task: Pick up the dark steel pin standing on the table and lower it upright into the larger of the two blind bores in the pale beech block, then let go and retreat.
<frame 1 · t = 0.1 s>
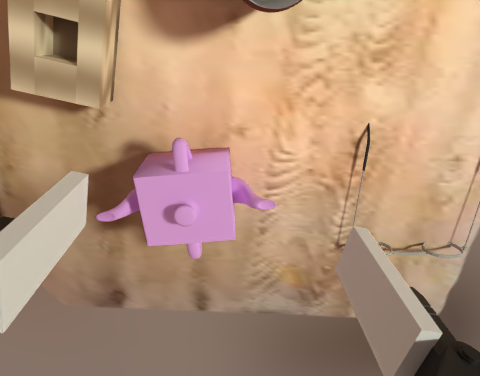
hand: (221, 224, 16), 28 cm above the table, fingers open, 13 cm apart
teapot: (194, 177, 46), on the table
eyeglasses: (414, 187, 48), on the table
block: (77, 10, 37), on the table
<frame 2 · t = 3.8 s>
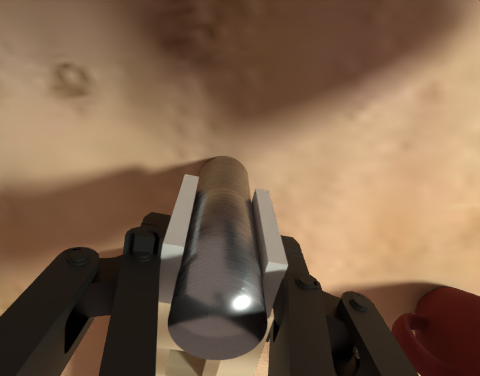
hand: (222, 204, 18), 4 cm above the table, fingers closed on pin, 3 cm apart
block: (185, 343, 28), on the table
pin: (223, 179, 22), on the table, touching gripper
mug: (424, 302, 27), on the table
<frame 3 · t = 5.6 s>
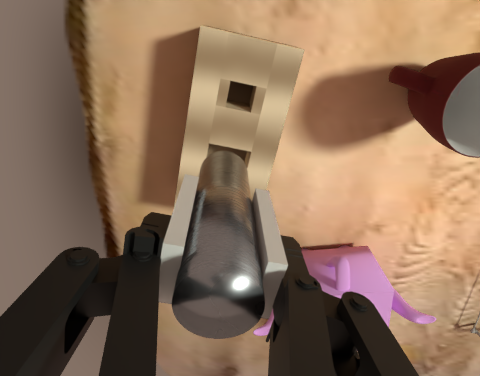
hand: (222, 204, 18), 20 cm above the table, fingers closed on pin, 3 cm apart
teapot: (322, 268, 45), on the table
block: (232, 124, 36), on the table
pin: (223, 173, 22), point 15 cm above the table, touching gripper
mug: (415, 85, 35), on the table
when the fingers open (7 cm above the table, at t = 7.8 s): pin drops 2 cm, resting on block.
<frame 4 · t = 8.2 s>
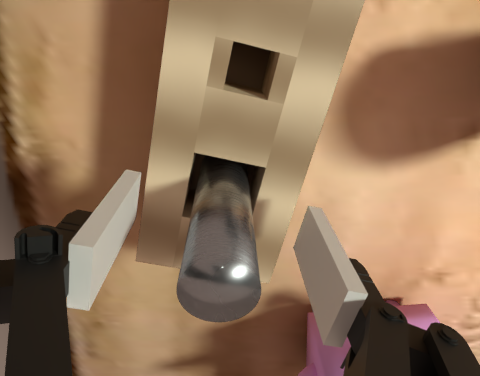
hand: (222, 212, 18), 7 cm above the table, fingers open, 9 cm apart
teapot: (356, 330, 32), on the table
block: (232, 124, 23), on the table
pin: (223, 168, 23), point 1 cm above the table, touching block
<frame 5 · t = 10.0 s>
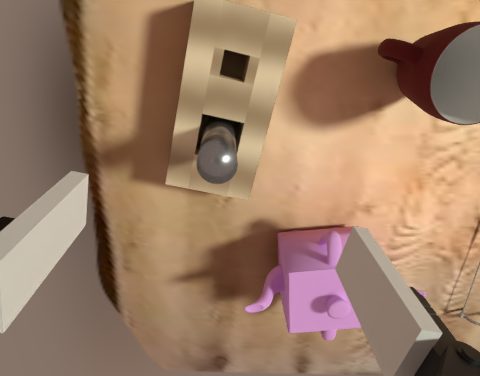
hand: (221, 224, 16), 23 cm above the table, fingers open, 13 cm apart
teapot: (314, 251, 46), on the table
block: (225, 100, 37), on the table
pin: (219, 128, 37), point 1 cm above the table, touching block
mug: (403, 64, 36), on the table
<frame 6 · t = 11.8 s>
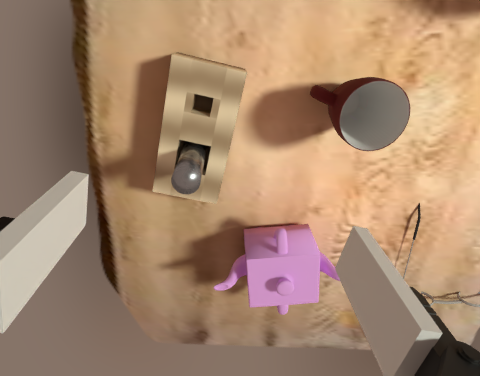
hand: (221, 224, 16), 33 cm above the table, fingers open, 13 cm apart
teapot: (275, 244, 56), on the table
eyeglasses: (452, 249, 59), on the table
block: (199, 126, 47), on the table
pin: (195, 148, 48), point 1 cm above the table, touching block
mug: (337, 99, 47), on the table
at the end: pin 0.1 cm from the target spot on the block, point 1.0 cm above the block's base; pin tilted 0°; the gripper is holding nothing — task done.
